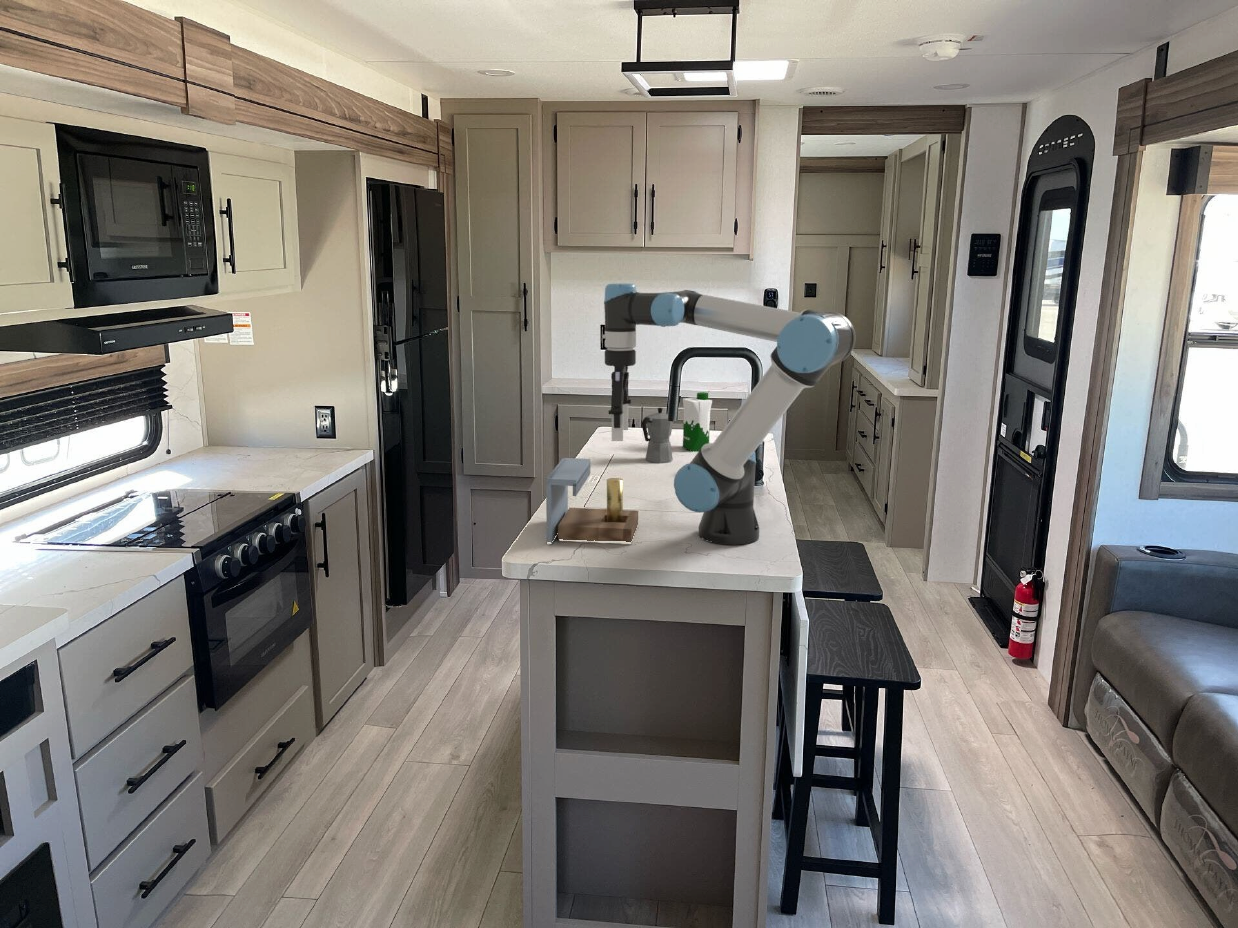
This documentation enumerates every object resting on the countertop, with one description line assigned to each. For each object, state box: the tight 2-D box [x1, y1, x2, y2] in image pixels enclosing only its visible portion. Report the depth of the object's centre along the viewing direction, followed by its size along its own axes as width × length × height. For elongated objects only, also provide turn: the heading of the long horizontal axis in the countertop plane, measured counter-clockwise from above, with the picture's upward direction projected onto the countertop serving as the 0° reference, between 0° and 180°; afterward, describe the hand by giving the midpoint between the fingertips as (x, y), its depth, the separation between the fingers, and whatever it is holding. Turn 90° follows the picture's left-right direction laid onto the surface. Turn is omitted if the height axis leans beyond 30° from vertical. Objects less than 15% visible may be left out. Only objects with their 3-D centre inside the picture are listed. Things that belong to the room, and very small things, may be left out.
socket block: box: [557, 507, 639, 542], centre depth 230 cm, size 18×16×4 cm
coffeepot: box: [641, 407, 674, 464], centre depth 306 cm, size 15×9×18 cm, turn 137°
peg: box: [606, 477, 624, 523], centre depth 228 cm, size 4×4×14 cm
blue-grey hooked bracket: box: [545, 457, 591, 543], centre depth 229 cm, size 7×22×16 cm, turn 173°
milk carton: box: [682, 392, 713, 453], centre depth 324 cm, size 9×9×20 cm
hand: (620, 435), depth 225 cm, fingers open, 13 cm apart
